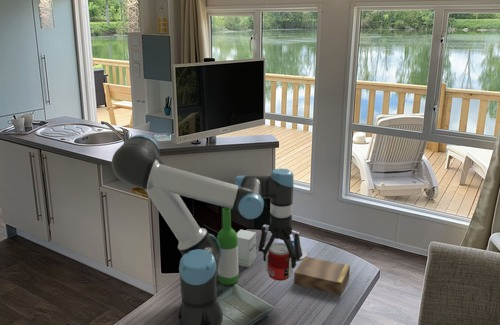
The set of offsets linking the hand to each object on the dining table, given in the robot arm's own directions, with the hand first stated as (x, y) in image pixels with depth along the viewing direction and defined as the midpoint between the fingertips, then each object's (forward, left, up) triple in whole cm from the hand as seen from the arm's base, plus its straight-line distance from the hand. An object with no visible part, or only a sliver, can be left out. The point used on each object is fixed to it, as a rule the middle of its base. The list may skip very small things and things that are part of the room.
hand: (279, 272), depth 167 cm
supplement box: (-22, +17, -10) cm, 30 cm away
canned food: (0, 0, -2) cm, 2 cm away
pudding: (-6, +31, -11) cm, 33 cm away
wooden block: (+11, +16, -10) cm, 22 cm away
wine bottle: (-22, +2, -10) cm, 24 cm away
